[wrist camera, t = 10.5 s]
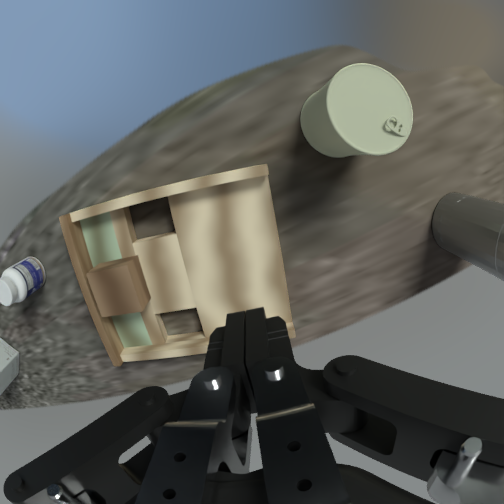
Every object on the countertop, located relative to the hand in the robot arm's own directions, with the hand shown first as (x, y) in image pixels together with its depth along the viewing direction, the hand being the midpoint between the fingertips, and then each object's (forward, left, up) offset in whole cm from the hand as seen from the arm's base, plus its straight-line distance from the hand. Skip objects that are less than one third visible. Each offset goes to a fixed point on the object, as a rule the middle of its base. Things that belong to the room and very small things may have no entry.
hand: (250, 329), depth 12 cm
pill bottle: (+34, +1, -27) cm, 43 cm away
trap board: (+9, +5, -27) cm, 28 cm away
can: (-14, -10, -27) cm, 32 cm away
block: (+17, +5, -25) cm, 30 cm away
